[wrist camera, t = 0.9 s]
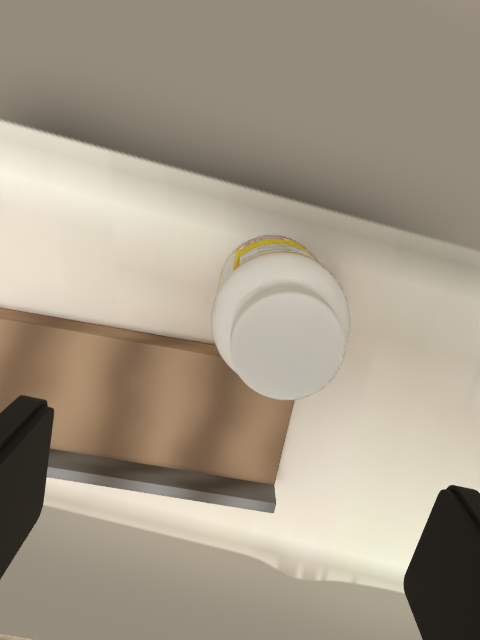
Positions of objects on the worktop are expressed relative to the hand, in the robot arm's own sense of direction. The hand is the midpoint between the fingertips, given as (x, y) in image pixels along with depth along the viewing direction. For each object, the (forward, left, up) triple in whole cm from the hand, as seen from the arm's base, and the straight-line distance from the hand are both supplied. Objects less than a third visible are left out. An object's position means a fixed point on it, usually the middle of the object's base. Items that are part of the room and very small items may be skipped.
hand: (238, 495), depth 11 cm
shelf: (+6, +9, -21) cm, 24 cm away
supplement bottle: (-2, -1, -21) cm, 21 cm away
